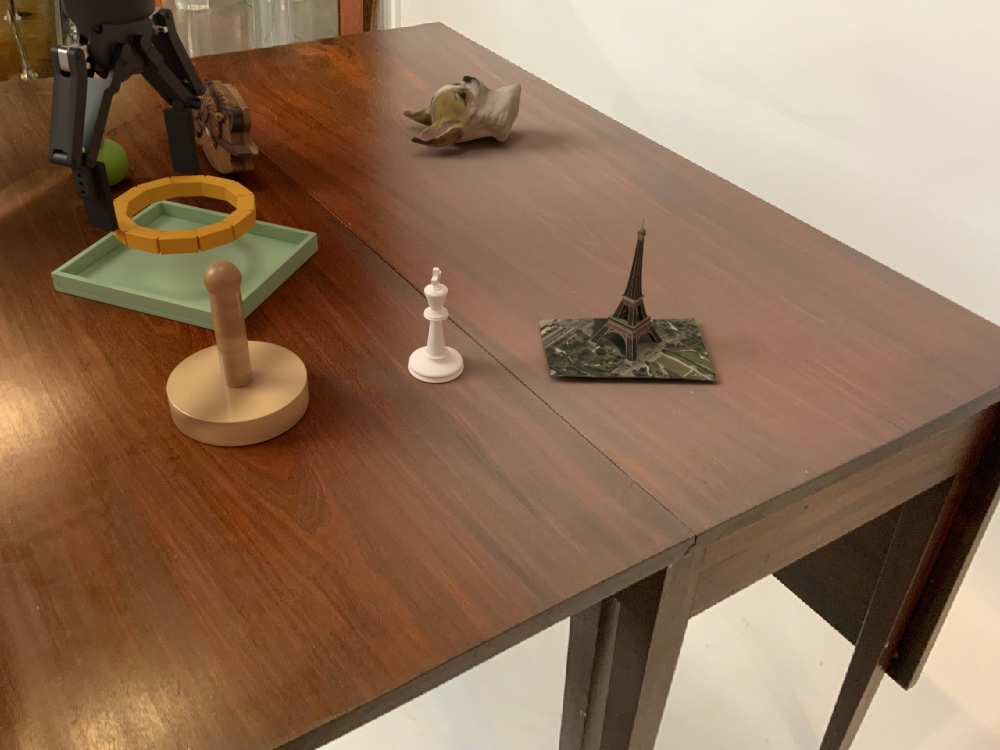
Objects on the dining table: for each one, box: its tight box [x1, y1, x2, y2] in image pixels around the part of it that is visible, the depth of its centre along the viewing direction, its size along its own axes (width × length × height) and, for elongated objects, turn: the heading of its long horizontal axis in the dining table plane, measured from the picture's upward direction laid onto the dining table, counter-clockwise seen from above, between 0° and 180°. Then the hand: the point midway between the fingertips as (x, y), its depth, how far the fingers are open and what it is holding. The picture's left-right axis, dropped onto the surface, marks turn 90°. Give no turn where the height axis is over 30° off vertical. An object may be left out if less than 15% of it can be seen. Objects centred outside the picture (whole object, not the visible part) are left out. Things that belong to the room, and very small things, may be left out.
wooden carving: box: [192, 79, 259, 175], centre depth 114 cm, size 16×5×10 cm, turn 38°
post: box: [166, 260, 310, 447], centre depth 77 cm, size 11×11×13 cm
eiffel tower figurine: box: [538, 217, 718, 382], centre depth 86 cm, size 15×10×13 cm
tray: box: [50, 200, 319, 331], centre depth 97 cm, size 19×17×2 cm
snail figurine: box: [82, 129, 130, 187], centre depth 109 cm, size 5×6×12 cm
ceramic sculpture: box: [402, 75, 522, 148], centre depth 125 cm, size 11×9×15 cm
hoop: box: [110, 174, 257, 255], centre depth 94 cm, size 13×13×2 cm
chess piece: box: [407, 266, 465, 384], centre depth 83 cm, size 5×5×10 cm
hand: (147, 198), depth 95 cm, fingers closed on hoop, 12 cm apart
